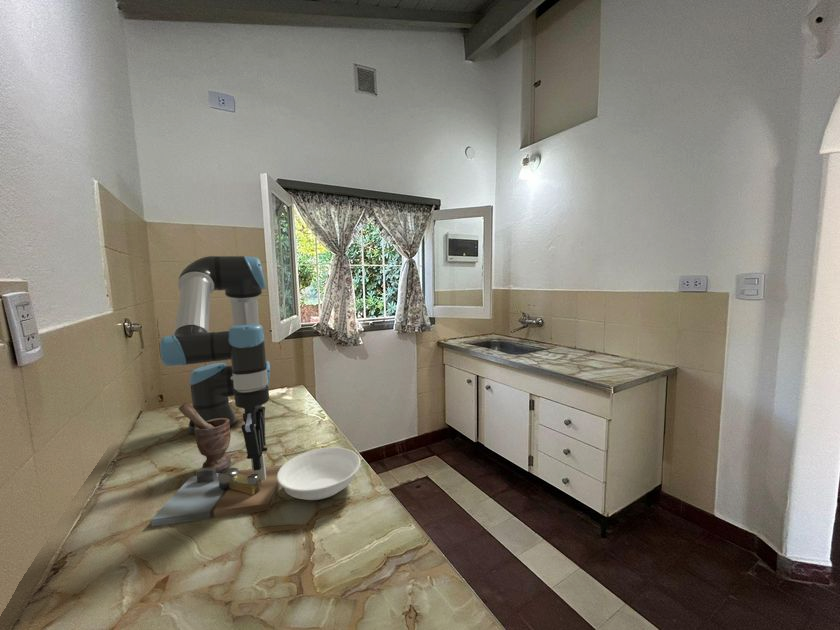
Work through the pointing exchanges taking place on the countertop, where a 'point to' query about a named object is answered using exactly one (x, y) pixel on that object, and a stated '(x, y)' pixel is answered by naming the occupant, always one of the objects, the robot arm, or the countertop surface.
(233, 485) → the swing bar
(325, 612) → the countertop surface
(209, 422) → the mortar and pestle
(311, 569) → the countertop surface
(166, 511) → the board
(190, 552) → the countertop surface
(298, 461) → the bowl
